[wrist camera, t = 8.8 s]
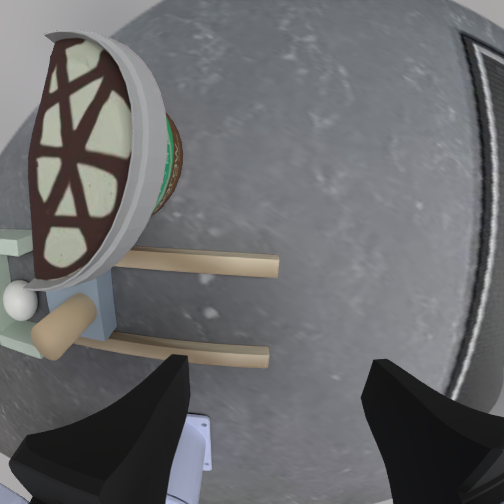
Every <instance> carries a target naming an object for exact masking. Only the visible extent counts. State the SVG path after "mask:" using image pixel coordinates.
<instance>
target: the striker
mask: <svg viewBox="0 0 504 504" xmlns="http://www.w3.org/2000/svg"><path fill="white" fill-rule="evenodd" d="M46 295H47V301H48V306H49V311H50V314H48V315H47V316H46V317H45V318H43V319H42V320H41V321H40V322H39V323H37V324H36V325H35V326H34V327H33V328H32V330H31V338H32V342H33V344H34V346H35V347H36V349H37V350H38V351H39V353H40V354H42V355H43V356H44V357H45V358H47V359H49V360H57V359H59V358H60V357H61V356H62V355H63V353H64V352H65V351H66V350H67V349H68V348H69V347H70V346H71V345H72V344H73V343H74V342H75V340H76V339H77V338H78V337H79V336H80V337H85V338H90V339H95V340H100V341H106V340H107V339H108V337H109V336H110V335H111V334H112V332H113V331H114V330H115V329H116V327H117V322H116V314H115V306H114V297H113V287H112V276H111V269H110V270H108V271H107V272H106V273H104V274H102V275H100V276H99V277H97V278H95V279H93V280H91V281H88V282H85V283H82V284H78V285H75V286H72V287H68V288H65V289H61V290H56V291H46Z"/></svg>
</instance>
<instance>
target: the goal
mask: <svg viewBox="0 0 504 504" xmlns="http://www.w3.org/2000/svg"><path fill="white" fill-rule="evenodd" d="M32 250H33V242H32V230H18V229H0V345H3V346H5V347H8V348H11V349H13V350H16V351H19V352H22V353H24V354H27V355H30V356H33V357H36V358H39V359H42V358H43V357H44V356H43V355H42V354H40V353H39V351H38V350H37V349H36V347H35V346H34V344H33V342H32V338H31V330H32V328H33V327H34V326H35V325H36V324H37V323H35V322H31V321H27V320H25V321H18V320H15V319H13V318H12V317H10V316H9V315H8V313H7V312H6V310H5V308H4V305H3V294H4V291H5V289H6V287H7V286H8V285H9V284H10V283H11V278H10V271H9V265H8V258H7V255H11V256H21V255H23V254H25V253H28V252H30V251H32Z"/></svg>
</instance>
